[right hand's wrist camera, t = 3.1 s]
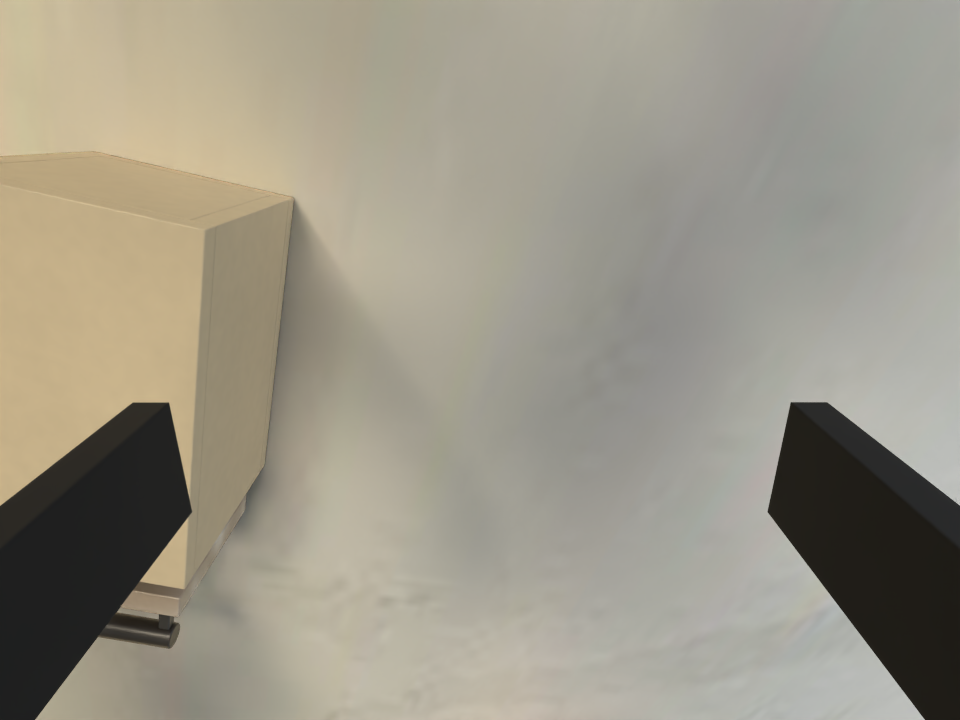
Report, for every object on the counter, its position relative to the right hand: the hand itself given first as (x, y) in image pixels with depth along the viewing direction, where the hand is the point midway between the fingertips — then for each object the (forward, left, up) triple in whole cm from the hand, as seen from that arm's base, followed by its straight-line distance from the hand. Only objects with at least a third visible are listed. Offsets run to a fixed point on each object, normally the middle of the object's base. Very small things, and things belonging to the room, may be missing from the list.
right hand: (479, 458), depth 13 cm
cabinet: (-5, -16, -20) cm, 26 cm away
